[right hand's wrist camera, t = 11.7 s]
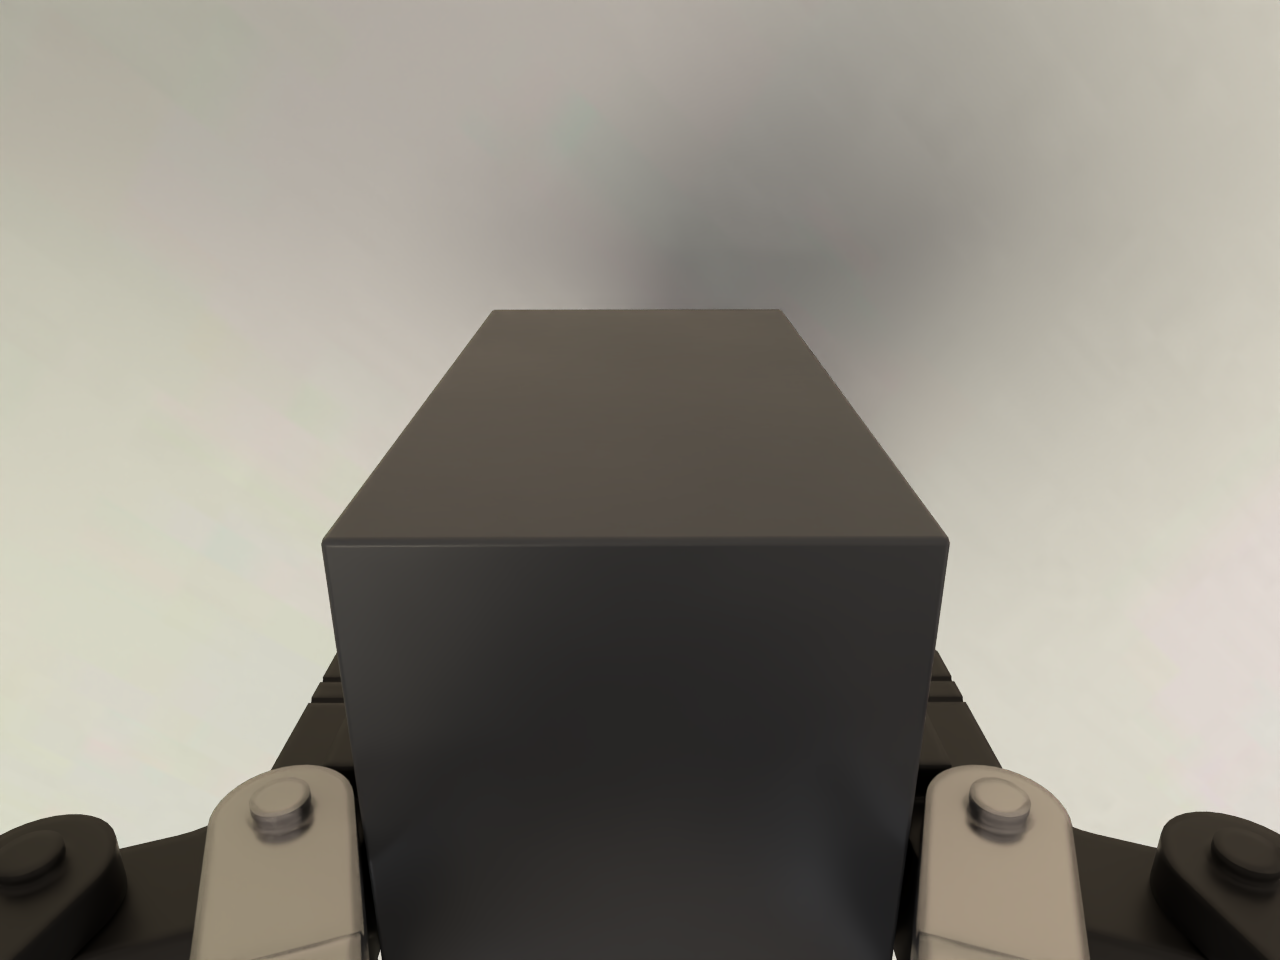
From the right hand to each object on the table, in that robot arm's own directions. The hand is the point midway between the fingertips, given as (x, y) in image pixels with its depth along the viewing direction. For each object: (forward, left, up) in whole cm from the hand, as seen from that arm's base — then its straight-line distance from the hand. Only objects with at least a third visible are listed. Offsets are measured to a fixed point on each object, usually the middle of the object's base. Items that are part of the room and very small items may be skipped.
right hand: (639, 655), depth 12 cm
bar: (+8, +3, -4) cm, 9 cm away
